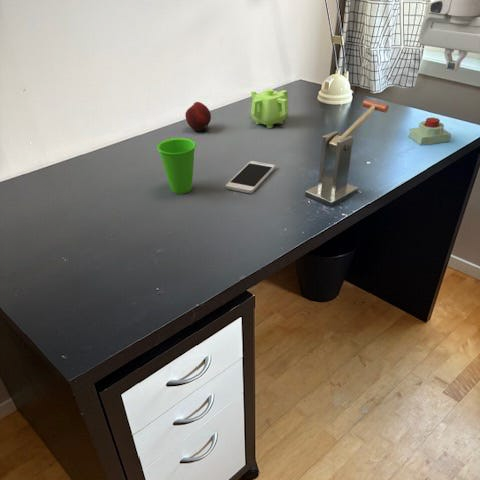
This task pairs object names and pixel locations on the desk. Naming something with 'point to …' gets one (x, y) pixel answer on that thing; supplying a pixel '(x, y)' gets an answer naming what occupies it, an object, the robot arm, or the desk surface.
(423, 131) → the control block
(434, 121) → the button
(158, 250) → the desk surface
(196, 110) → the apple
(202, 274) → the desk surface
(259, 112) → the green pot with handles
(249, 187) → the smartphone
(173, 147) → the cup
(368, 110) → the lever
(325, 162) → the bracket
